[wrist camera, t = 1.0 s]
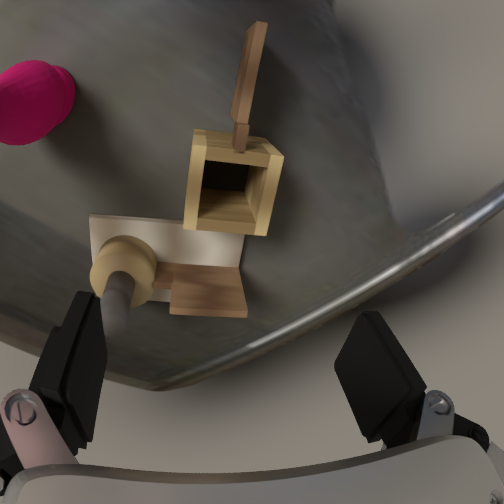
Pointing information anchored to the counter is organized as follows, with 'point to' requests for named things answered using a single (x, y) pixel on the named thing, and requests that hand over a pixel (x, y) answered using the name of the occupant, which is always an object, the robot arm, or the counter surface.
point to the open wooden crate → (235, 160)
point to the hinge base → (163, 269)
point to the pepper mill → (33, 101)
